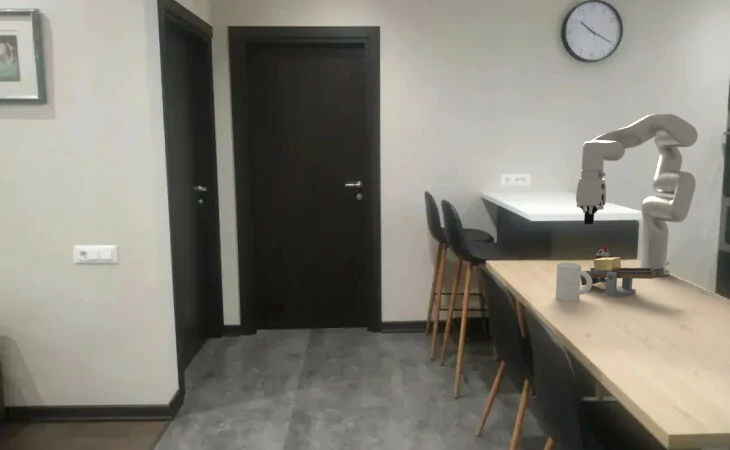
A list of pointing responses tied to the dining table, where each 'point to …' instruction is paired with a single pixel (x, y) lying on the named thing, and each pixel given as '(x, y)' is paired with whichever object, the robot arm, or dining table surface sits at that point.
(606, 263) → the block
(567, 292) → the mug
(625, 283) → the pivot stand
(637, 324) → the dining table surface
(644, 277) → the beam
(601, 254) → the sundae
